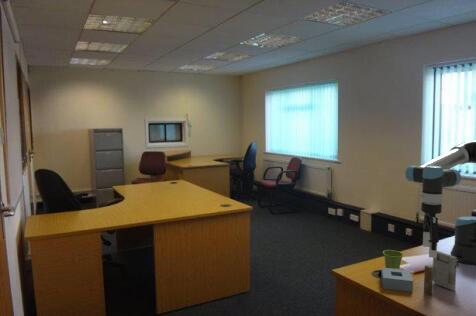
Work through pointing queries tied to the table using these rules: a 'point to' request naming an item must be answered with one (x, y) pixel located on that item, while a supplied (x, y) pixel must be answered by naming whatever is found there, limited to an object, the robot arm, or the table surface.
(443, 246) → the table surface
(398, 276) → the bore block
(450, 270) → the handheld gaming console
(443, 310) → the table surface
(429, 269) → the pin
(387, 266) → the plant pot
